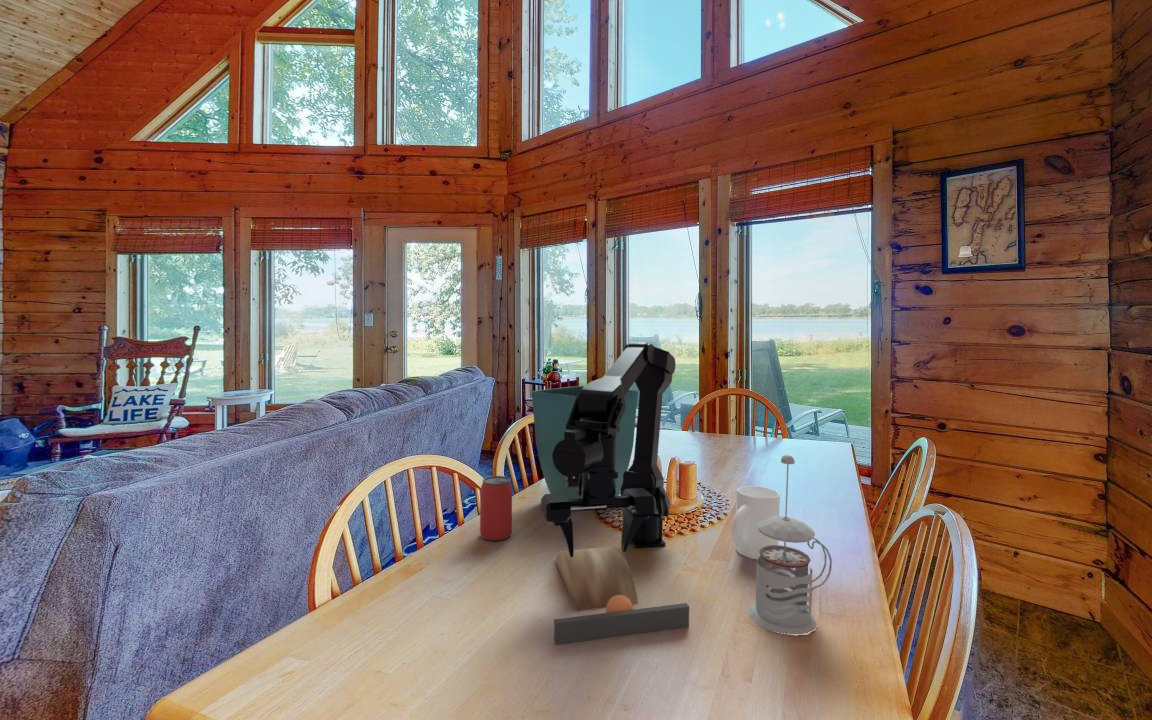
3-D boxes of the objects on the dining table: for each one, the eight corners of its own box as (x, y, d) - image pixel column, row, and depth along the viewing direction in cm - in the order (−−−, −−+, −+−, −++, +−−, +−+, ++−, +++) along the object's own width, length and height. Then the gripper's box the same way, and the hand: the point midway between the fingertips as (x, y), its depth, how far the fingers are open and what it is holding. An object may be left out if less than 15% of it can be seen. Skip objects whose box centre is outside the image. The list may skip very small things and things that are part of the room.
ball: (635, 630, 73) (638, 603, 72) (609, 631, 72) (612, 604, 72) (626, 614, 77) (629, 589, 76) (601, 615, 76) (604, 589, 75)
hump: (601, 635, 100) (602, 527, 99) (640, 718, 79) (643, 581, 77) (552, 642, 98) (553, 532, 96) (579, 729, 76) (581, 588, 75)
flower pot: (528, 499, 129) (529, 390, 127) (579, 482, 144) (580, 384, 142) (588, 519, 115) (590, 397, 114) (637, 498, 130) (639, 390, 129)
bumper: (685, 622, 74) (686, 603, 74) (688, 626, 73) (689, 606, 73) (553, 640, 70) (554, 619, 70) (555, 644, 69) (555, 623, 69)
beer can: (505, 543, 102) (505, 485, 101) (475, 540, 103) (475, 483, 102) (515, 531, 108) (516, 476, 107) (487, 528, 109) (487, 474, 109)
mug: (714, 554, 98) (715, 494, 97) (748, 539, 105) (749, 483, 105) (752, 570, 91) (754, 505, 91) (785, 552, 99) (787, 493, 98)
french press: (740, 599, 81) (744, 447, 80) (812, 601, 81) (818, 448, 80) (760, 635, 72) (766, 463, 70) (842, 637, 71) (850, 464, 70)
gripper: (634, 449, 94) (633, 530, 94) (536, 453, 89) (535, 539, 90) (658, 464, 83) (656, 556, 84) (547, 470, 78) (546, 567, 79)
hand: (597, 553), depth 84 cm, fingers open, 9 cm apart
